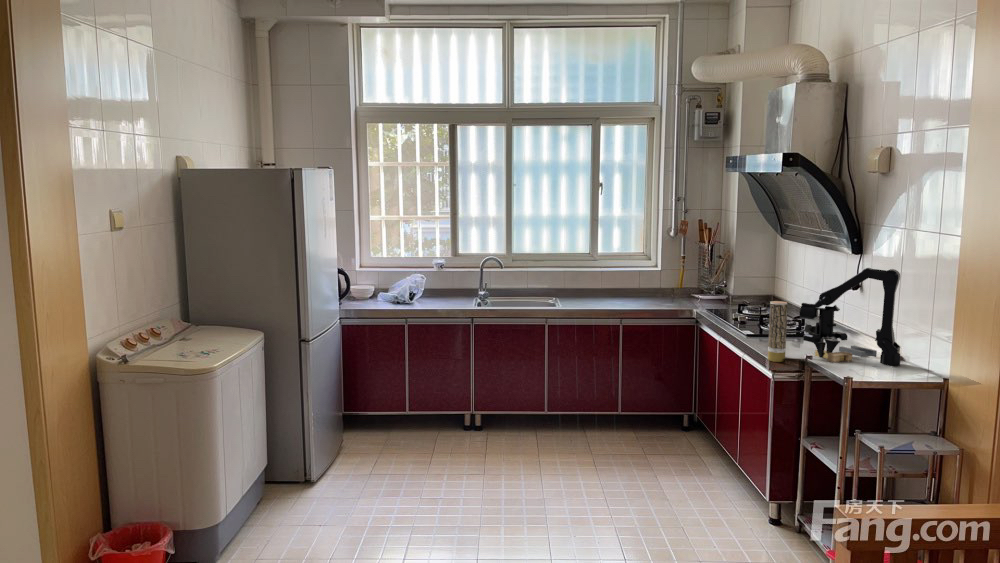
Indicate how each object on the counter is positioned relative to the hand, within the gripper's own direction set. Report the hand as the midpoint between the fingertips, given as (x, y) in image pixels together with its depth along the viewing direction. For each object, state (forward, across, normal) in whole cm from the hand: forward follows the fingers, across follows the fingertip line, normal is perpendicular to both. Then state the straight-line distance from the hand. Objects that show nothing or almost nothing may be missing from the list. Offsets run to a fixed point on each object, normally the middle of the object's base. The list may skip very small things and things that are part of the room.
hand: (824, 357), depth 295 cm
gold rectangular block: (-1, 0, +3) cm, 3 cm away
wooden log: (+2, +20, -6) cm, 21 cm away
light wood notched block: (+1, 0, +8) cm, 8 cm away
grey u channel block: (+1, -19, -1) cm, 19 cm away
